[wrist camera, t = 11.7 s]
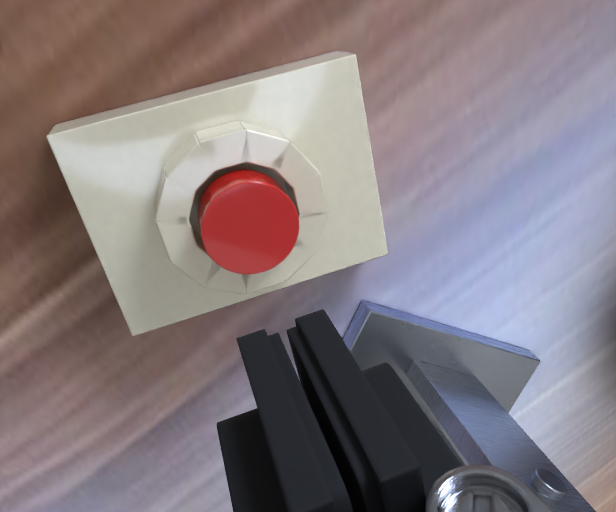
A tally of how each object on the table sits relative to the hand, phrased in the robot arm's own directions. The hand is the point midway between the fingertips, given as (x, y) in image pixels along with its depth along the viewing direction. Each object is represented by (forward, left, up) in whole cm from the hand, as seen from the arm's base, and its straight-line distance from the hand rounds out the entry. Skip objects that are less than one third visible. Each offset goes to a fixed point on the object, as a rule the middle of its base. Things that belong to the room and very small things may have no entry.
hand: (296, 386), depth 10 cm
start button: (+1, -1, -12) cm, 12 cm away
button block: (+1, -1, -16) cm, 16 cm away
